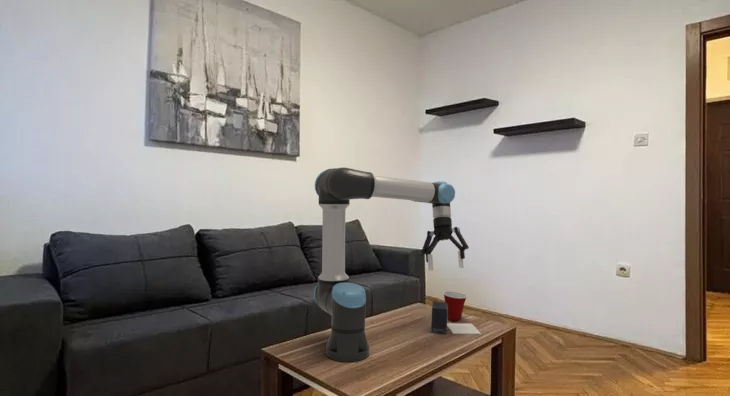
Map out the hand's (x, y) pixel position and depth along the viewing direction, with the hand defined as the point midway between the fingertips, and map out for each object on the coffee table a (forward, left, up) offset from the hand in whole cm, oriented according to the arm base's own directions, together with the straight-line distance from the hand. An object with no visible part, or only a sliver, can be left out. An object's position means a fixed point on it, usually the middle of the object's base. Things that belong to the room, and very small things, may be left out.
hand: (445, 269), depth 169 cm
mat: (+9, +5, -26) cm, 28 cm away
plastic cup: (+9, +18, -26) cm, 33 cm away
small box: (-1, +4, -26) cm, 26 cm away
